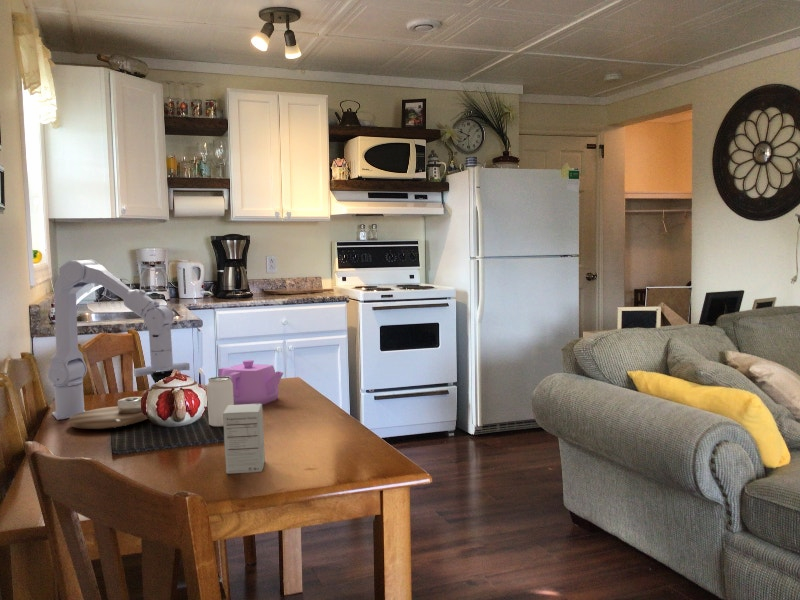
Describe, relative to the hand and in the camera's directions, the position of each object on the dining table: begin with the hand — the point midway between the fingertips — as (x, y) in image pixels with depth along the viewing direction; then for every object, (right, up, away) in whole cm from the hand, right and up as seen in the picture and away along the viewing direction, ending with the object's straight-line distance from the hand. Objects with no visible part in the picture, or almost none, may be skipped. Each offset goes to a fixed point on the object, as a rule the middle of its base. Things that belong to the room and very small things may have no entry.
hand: (164, 399), depth 195 cm
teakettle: (+21, -3, +16) cm, 26 cm away
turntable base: (-12, -6, -7) cm, 15 cm away
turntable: (-12, -4, -8) cm, 14 cm away
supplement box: (+33, -8, -48) cm, 59 cm away
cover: (-7, -3, -5) cm, 9 cm away
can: (+19, -5, -11) cm, 22 cm away
